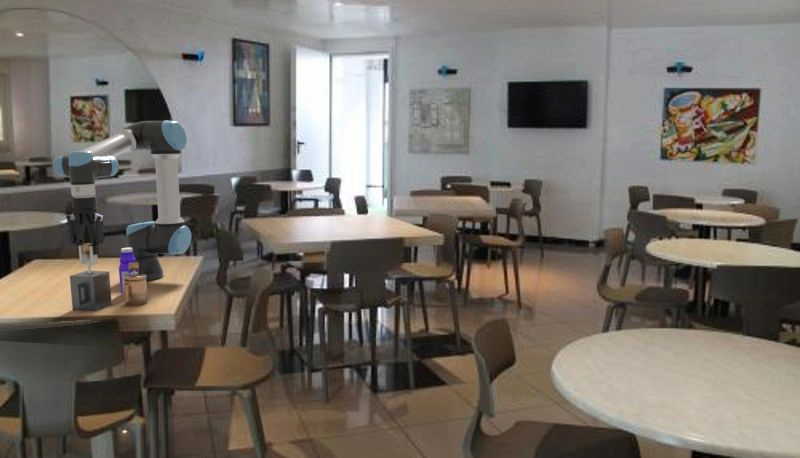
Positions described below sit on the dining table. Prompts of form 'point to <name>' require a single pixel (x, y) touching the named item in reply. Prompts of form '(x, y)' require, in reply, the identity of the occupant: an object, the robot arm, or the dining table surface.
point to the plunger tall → (87, 251)
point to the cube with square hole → (90, 290)
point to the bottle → (125, 264)
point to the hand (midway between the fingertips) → (88, 263)
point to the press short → (134, 287)
